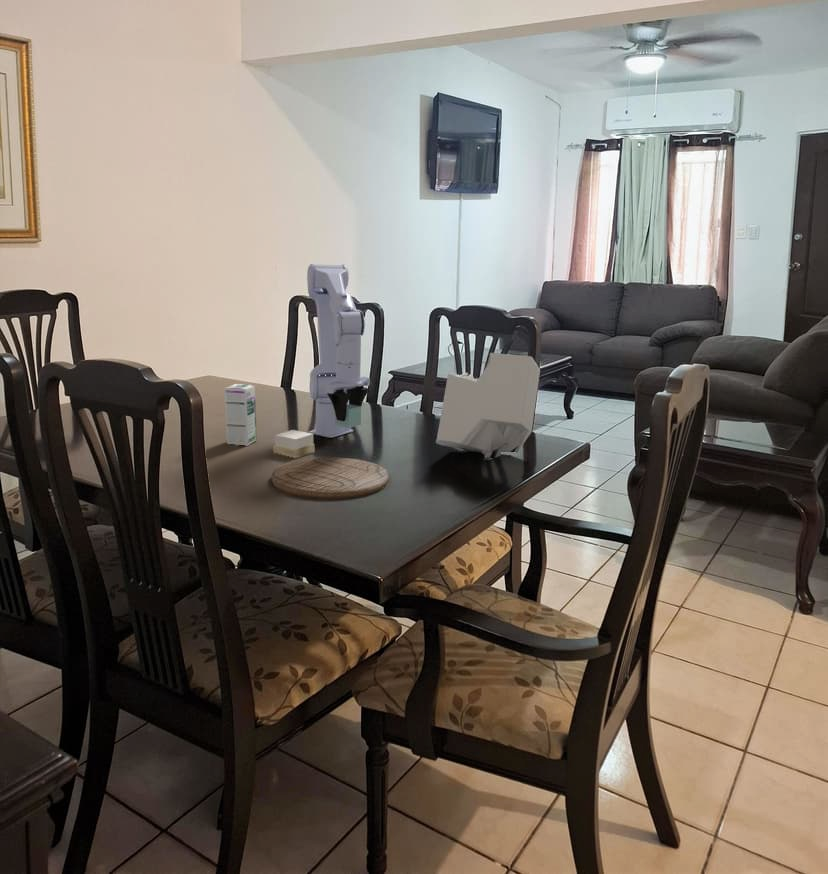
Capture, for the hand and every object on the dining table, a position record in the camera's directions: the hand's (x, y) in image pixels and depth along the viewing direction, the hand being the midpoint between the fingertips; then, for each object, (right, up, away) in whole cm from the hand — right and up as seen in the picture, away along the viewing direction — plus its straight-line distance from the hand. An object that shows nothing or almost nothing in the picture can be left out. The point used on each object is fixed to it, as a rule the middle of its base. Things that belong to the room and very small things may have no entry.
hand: (347, 418), depth 188 cm
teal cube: (0, -1, 0) cm, 2 cm away
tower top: (-13, -6, +1) cm, 14 cm away
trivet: (-2, -14, -19) cm, 24 cm away
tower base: (-13, -9, +1) cm, 16 cm away
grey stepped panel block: (+33, -9, +4) cm, 35 cm away
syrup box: (-27, -6, +8) cm, 29 cm away
